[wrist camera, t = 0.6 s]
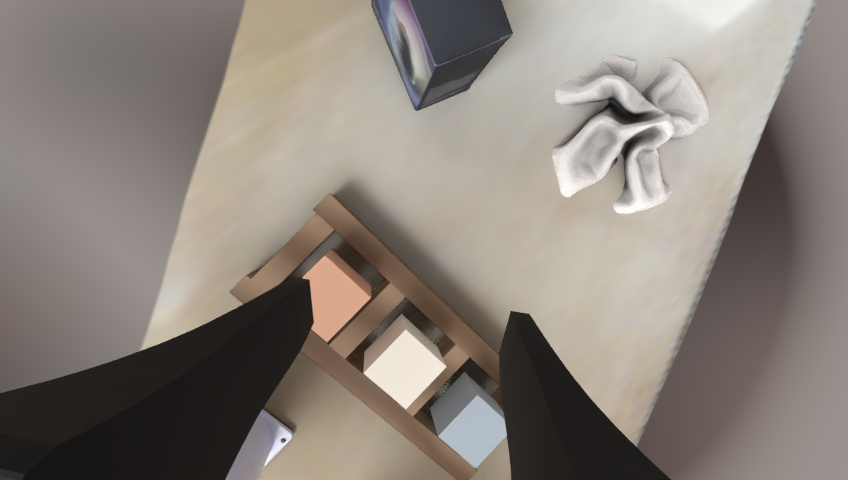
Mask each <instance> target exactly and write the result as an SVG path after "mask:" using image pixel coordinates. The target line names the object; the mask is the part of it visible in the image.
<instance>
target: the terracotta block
mask: <svg viewBox="0 0 848 480" xmlns="http://www.w3.org/2000/svg"><path fill="white" fill-rule="evenodd" d="M302 278H303V279H309V280H310V289H311V299H312V308H313V318H314V324H313V326H312V328H311V329H312V330H313V331H314V332H315V333H316V334H318V335H319V336H320V337H321V338H322V339H323V340H325V341H326V342H328V341H329V340H330V339H331V338H332V337H333V336H334V335H335V334H336V333H337V332H338V331H339V330H340V329H341V328H342V327H343V326H344V325H345V324H346V323H347V322H348V321H349V320H350V319H351V318H352V317H353V316H354V315H355V314H356V313H357V312H358V310H359V309H360V308H361V307H362V306H363V305H364V304H365V303H366V302H367V301H368V300H369V299H370V298H371V285H370V284H369V283H368V282H367V281H366V280H364V279H363V278H362V277H361V276H360V275H359V274H358V273H357V272H356V271H355V270H354V269H353V268H351V267H350V266H349V265H348V264H347V263H346V262H345V261H344V260H343V259H342V258H341V257H340V256H338V255H337V254H336V253H335V252H334V251H333V250H332V249H331V250H330V251H329V252H328V253H327V254H325V255H324V256H323V257H322V258H321V259H320V260H319V261H318V262H317V263H316V264H315V265H314V266H313V267H312V268H311V269H310V270H309V271H308V272H307V273H306V274H305V275H304V276H303V277H302Z"/></svg>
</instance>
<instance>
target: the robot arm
mask: <svg viewBox="0 0 848 480" xmlns="http://www.w3.org/2000/svg"><path fill="white" fill-rule="evenodd" d="M313 324H314V318H313V308H312V299H311V289H310V280H309V279H303V278H296V277H293V278H291V279H289V280H287V281H285V282H283V283H281V284H279V285H277V286H276V287H274V288H272V289H270V290H268V291H267V292H265V293H263V294H261V295H260V296H258V297H256V298H254V299H252V300H251V301H249V302H247V303H245V304H243V305H242V306H240V307H238V308H236V309H234V310H232V311H230V312H228V313H226V314H224V315H222V316H220V317H218V318H216V319H214V320H212V321H210V322H208V323H206V324H204V325H202V326H200V327H198V328H196V329H194V330H191V331H189V332H187V333H185V334H182V335H180V336H178V337H175V338H173V339H170V340H168V341H166V342H163V343H161V344H158V345H156V346H153V347H150V348H147V349H145V350H142V351H139V352H137V353H134V354H131V355H128V356H126V357H123V358H120V359H118V360H114V361H112V362H109V363H106V364H102V365H100V366H96V367H93V368H90V369H87V370H83V371H80V372H77V373H74V374H70V375H67V376H64V377H60V378H57V379H53V380H50V381H46V382H42V383H38V384H35V385H30V386H27V387H23V388H20V389H16V390H11V391H7V392H4V393H0V480H258V479H259V477H260V475H261V472H262V470H263V467H264V466H265V465H266V464H267V463H268V462H269V461H270V460H271V459H272V458H273V457H274V456H275V455H276V454H277V453H278V452H279V451H280V450H281V449H282V448H283V447H284V446H285V445H286V444H287V443H288V442H289V441H290V440H291V438H292V436H293V432H292V431H291V430H290V429H289V428H287V427H286V426H285V425H283V424H282V423H281V422H279V421H278V420H277V419H276V418H274V417H273V416H272V415H270V414H269V413H268V412H266V411H265V410H264V409H263V407H264V406H265V404H266V402H267V401H268V399H269V398H270V396H271V395H272V393H273V392H274V390H275V389H276V387H277V386H278V384H279V383H280V381H281V380H282V378H283V376H284V375H285V373H286V372H287V370H288V369H289V367H290V366H291V364H292V363H293V361H294V360H295V358H296V356H297V355H298V353H299V352H300V350H301V349H302V347H303V345H304V343H305V341H306V339H307V337H308V335H309V332H310V330H311V328H312V326H313ZM499 377H500V389H501V397H502V404H503V411H504V418H505V425H506V432H507V440H508V447H509V455H510V464H511V480H671V479H670V478H669V477H668V476H666V475H665V474H664V473H663V472H662V471H661V470H660V469H659V468H658V467H656V466H655V465H654V464H653V463H652V462H651V461H650V460H649V459H648V458H647V457H646V456H645V455H644V454H643V453H642V452H641V451H640V450H639V449H638V448H637V447H636V446H635V445H634V444H633V443H632V442H631V441H630V440H629V439H628V438H627V437H626V436H625V435H624V434H623V433H622V432H621V431H620V430H619V429H618V428H617V427H616V426H615V425H614V424H613V423H612V422H611V421H610V420H609V419H608V417H607V416H606V415H605V414H604V413H603V412H602V411H601V410H600V409H599V408H598V407H597V405H596V404H595V403H594V402H593V401H592V400H591V399H590V397H589V396H588V395H587V394H586V393H585V391H584V390H583V389H582V388H581V386H580V385H579V384H578V383H577V381H576V380H575V379H574V378H573V376H572V375H571V374H570V372H569V371H568V370H567V368H566V367H565V366H564V364H563V363H562V361H561V360H560V359H559V357H558V356H557V355H556V353H555V352H554V350H553V349H552V347H551V346H550V344H549V343H548V342H547V340H546V339H545V337H544V336H543V334H542V333H541V331H540V330H539V328H538V326H537V325H536V323H535V322H534V320H533V319H532V317H531V316H530V315H529V314H526V313H520V312H513V311H511V313H510V316H509V320H508V323H507V327H506V331H505V334H504V338H503V342H502V345H501V349H500V352H499ZM282 438H285V439H286V440H283V439H282Z"/></svg>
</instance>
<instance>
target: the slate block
mask: <svg viewBox="0 0 848 480" xmlns="http://www.w3.org/2000/svg"><path fill="white" fill-rule="evenodd" d="M430 411H431V414H432V418H433V421H434V425H435V428H436V432H437V435H438V437H439V438H440V439H441V440H443V441H444V442H445V443H446V444H447V445H449V446H450V447H451V448H452V449H453V450H454V451H456V452H457V453H458V454H459V455H460V456H461V457H463V458H464V459H465V460H466V461H467V462H469V463H470V464H471V465H472V466H473V467H474V468H477V467H478V466H479V464H480V463H481V462H482V461H483V460H484V459H485V458H486V457H487V456H488V455H489V454H490V453H491V452H492V450H493V449H494V448H495V447H496V446H497V445H498V444H499V443H500V442H501V441H502V440H503V439H504V438H505V437H506V435H507V432H506V425H505V418H504V412H503V411H502V409H501V408H500V406H499V405H498V403H497V401H495V400H494V399H493V398H492V397H491V396H490V395H489V394H488V393H487V392H486V391H485V390H484V389H482V388H481V387H480V386H479V385H478V384H477V383H476V382H475V381H474V380H473V379H472V378H471V377H469V376H468V375H467V374H466V373H465V372H464V373H463V374H462V375H461V376H460V377H459V378H458V379H457V380H456V381H455V382H454V383H453V384H452V385H451V386H450V387H449V388H448V389H447V391H446V392H445V393H444V394H443V395H442V396H441V397H440V398H439V399H438V400H437V401H436V402H435V403H434V404H433V405H432V406H431V407H430Z"/></svg>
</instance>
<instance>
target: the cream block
mask: <svg viewBox="0 0 848 480" xmlns="http://www.w3.org/2000/svg"><path fill="white" fill-rule="evenodd" d="M446 367H447V366H446V364H445V362H444V360H443V358H442V356H441V354H440V351H439V349H438V347H437V346H436V345H435V344H434V343H433V342H432V341H431V340H429V339H428V338H427V337H426V336H425V335H424V334H423V333H422V332H421V331H420V330H419V329H418V328H416V327H415V326H414V325H413V324H412V323H411V322H410V321H409V320H408V319H407V318H406V317H405V316H403V315H402V314H401V315H400V316H399V317H398V318H397V319H396V320H395V321H394V322H393V323H392V324H391V325H390V326H389V327H388V328H387V329H386V330H385V331H384V332H383V333H382V334H381V335H380V336H379V337H378V338H377V339H376V340H375V341H374V342H373V343H372V344H371V345H370V346H369V347H368V349H367V350H366V351H365V352H364V369H363V373H364V374H365V375H366V376H367V377H368V378H369V379H371V380H372V381H373V382H374V383H375V384H377V385H378V386H379V387H380V388H381V389H382V390H384V391H385V392H386V393H387V394H388V395H390V396H391V397H392V398H393V399H394V400H395V401H397V402H398V403H399V404H400V405H401V406H402V407H404V408H405V409H407V408H408V407H409V406H410V405H411V404H412V403H413V401H414V400H415V399H416V398H417V397H418V396H419V395H420V394H421V393H422V392H423V391H424V390H425V389H426V388H427V387H428V386H429V385H430V384H431V383H432V382H433V381H434V380H435V378H436V377H437V376H438V375H439V374H440V373H441V372H442V371H443V370H444V369H445V368H446Z"/></svg>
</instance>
